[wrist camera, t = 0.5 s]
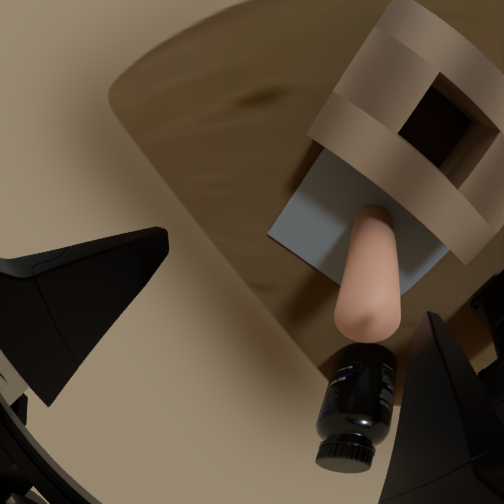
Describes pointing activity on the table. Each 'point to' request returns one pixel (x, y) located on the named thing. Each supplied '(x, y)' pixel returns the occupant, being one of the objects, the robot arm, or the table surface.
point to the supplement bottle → (356, 407)
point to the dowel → (370, 279)
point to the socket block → (398, 111)
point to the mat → (349, 222)
